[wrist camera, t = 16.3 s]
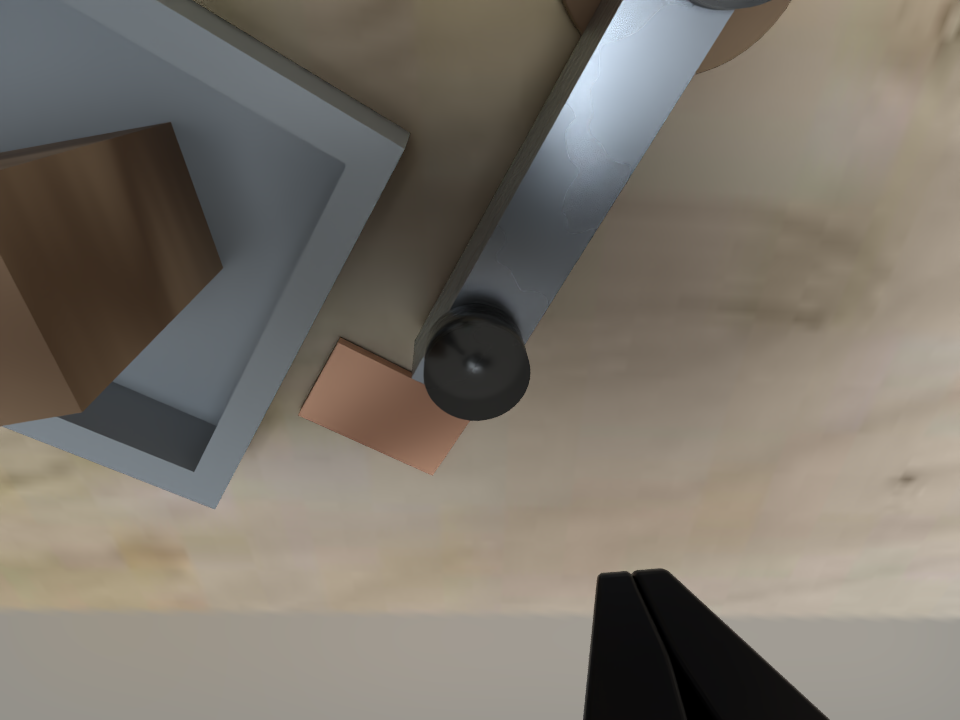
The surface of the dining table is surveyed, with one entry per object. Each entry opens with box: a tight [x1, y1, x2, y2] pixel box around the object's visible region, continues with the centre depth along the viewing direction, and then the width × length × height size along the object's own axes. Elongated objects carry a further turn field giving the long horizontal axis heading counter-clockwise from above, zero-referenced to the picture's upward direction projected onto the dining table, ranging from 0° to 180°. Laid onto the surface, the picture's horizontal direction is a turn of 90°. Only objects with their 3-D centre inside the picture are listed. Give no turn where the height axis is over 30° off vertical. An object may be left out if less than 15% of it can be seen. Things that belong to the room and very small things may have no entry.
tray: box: [0, 0, 410, 509], centre depth 17 cm, size 12×12×3 cm
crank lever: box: [411, 0, 771, 421], centre depth 15 cm, size 14×4×4 cm, turn 151°
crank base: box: [298, 0, 791, 476], centre depth 18 cm, size 6×20×1 cm, turn 149°
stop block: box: [0, 122, 223, 426], centre depth 14 cm, size 4×5×8 cm
